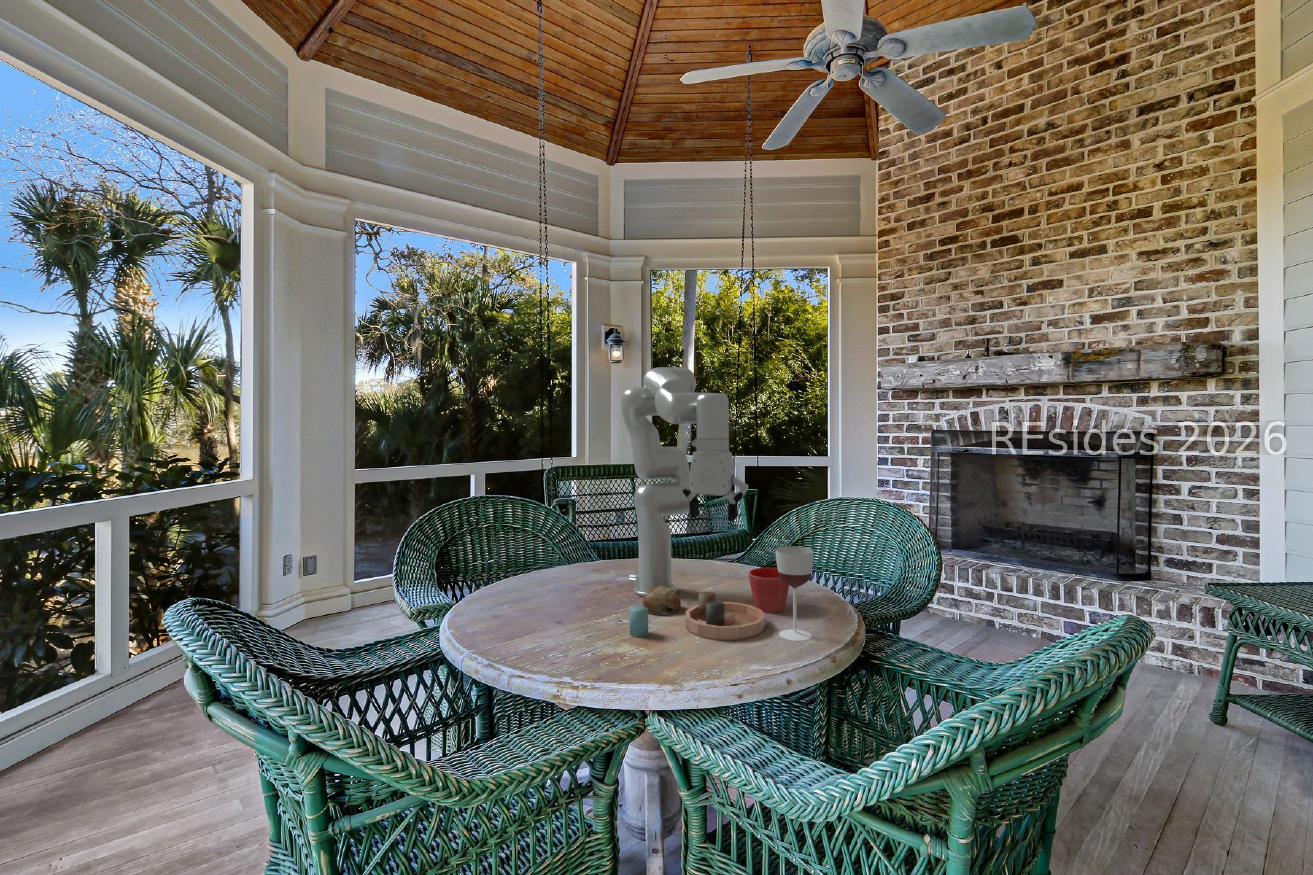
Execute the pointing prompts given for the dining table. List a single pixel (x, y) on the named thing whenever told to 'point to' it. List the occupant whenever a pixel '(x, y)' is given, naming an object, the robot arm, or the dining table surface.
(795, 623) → the wineglass
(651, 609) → the bread roll
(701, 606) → the bead
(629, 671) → the dining table surface
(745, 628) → the groove dish
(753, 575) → the flower pot
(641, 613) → the teal capsule
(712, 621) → the bead
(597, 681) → the dining table surface
